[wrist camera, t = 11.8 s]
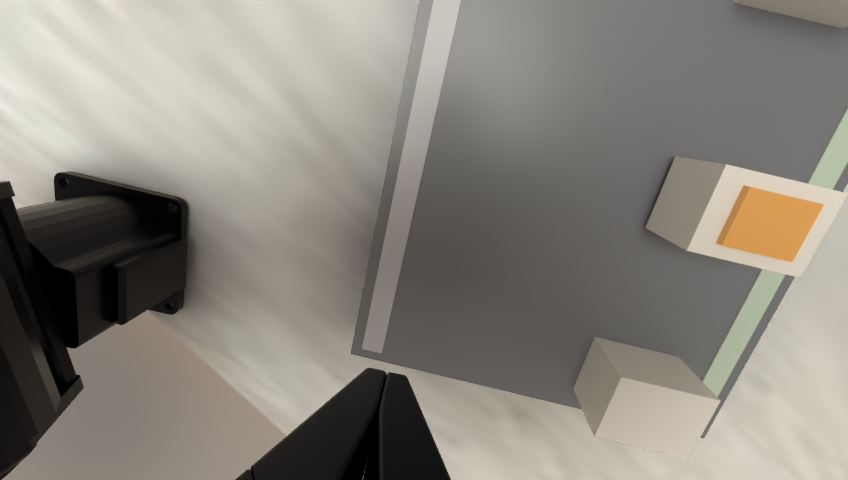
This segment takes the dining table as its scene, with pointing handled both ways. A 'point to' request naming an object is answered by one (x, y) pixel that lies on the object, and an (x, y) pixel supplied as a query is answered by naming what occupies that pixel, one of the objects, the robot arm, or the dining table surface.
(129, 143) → the dining table surface
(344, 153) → the dining table surface
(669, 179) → the switch
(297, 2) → the dining table surface
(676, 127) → the switch panel
